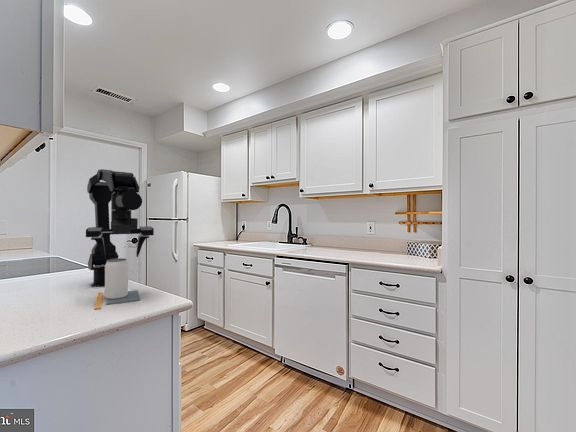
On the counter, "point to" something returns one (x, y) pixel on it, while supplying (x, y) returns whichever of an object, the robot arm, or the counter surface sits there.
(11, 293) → the counter surface
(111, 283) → the can
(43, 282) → the counter surface
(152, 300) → the counter surface
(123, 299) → the mat
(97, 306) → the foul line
